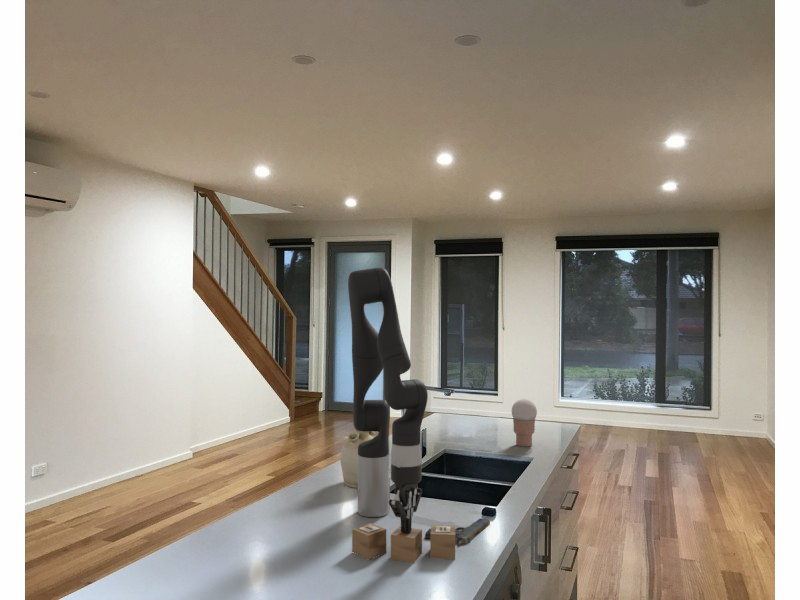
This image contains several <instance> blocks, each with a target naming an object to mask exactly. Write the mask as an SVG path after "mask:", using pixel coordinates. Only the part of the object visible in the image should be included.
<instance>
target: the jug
mask: <svg viewBox="0 0 800 600" xmlns="http://www.w3.org/2000/svg"><path fill="white" fill-rule="evenodd" d="M352 427H353V429H354V430H355V431H356V432H355V431H354V432H351V433H349V435H348V436H347V439H346V441H344V443H343V445H342V447H341V449H340V453H339V454H340V456H339V457H340V458H339V461H340V466H341V472H342V478H343V482H344V485H345V486H347V487H348V486H349V488H354V489H358V446H359V444H361V443H363V442H365V441H368V440H370V439H373V438H374V437H375V435H376V432H375V431H357V430H356V429H355V427H354V423H353V422H352Z"/></svg>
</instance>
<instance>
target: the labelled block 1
mask: <svg viewBox="0 0 800 600" xmlns="http://www.w3.org/2000/svg"><path fill="white" fill-rule="evenodd" d="M351 532H352V533H351V534H352V535H351V548H352V549H351V553H352V552H354V553H356V554H358V555H360V556H362V557H364V558H363V559H365V558H367V559H370V558H372V559H374V558H373V557H375V558H377V557H379V556H378V555H380V556H382V555H385V554H387V528H384V527H382V526H379V525H376V524H374V523H371V522H369V523H366V524H362V525H360V526H357V527H354V528H352V529H351ZM354 553H353V554H354ZM384 553H385V554H384ZM356 554H355V555H356ZM381 554H382V555H381ZM358 555H357V556H358ZM360 556H359V557H360ZM376 556H377V557H376ZM362 557H361V558H362ZM367 559H366V560H367ZM370 560H371V559H370Z"/></svg>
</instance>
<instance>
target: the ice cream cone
mask: <svg viewBox="0 0 800 600" xmlns="http://www.w3.org/2000/svg"><path fill="white" fill-rule="evenodd" d="M511 415H512V422H513V433H515V437H516V438H515V444H516V446H518V447H531V446H533V435H534V433H535V430H536V429H535V427H536V426H535V424H536V418H537V415H538V410H537V407H536V405H535V403H534V402H533V401H532V400H529V399H527V398H521V399H518V400H516V401H515V402H514V403H513V405H512V407H511Z"/></svg>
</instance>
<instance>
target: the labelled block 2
mask: <svg viewBox="0 0 800 600" xmlns="http://www.w3.org/2000/svg"><path fill="white" fill-rule="evenodd" d="M430 529H431V534H430V539H429V540H430V545H429V547H430V550H429V551H430V552H429V553H430V554H429V555H430V559H442V560H456V543H455V529H456V525H443V524H442V525H441V524H431V527H430Z"/></svg>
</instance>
